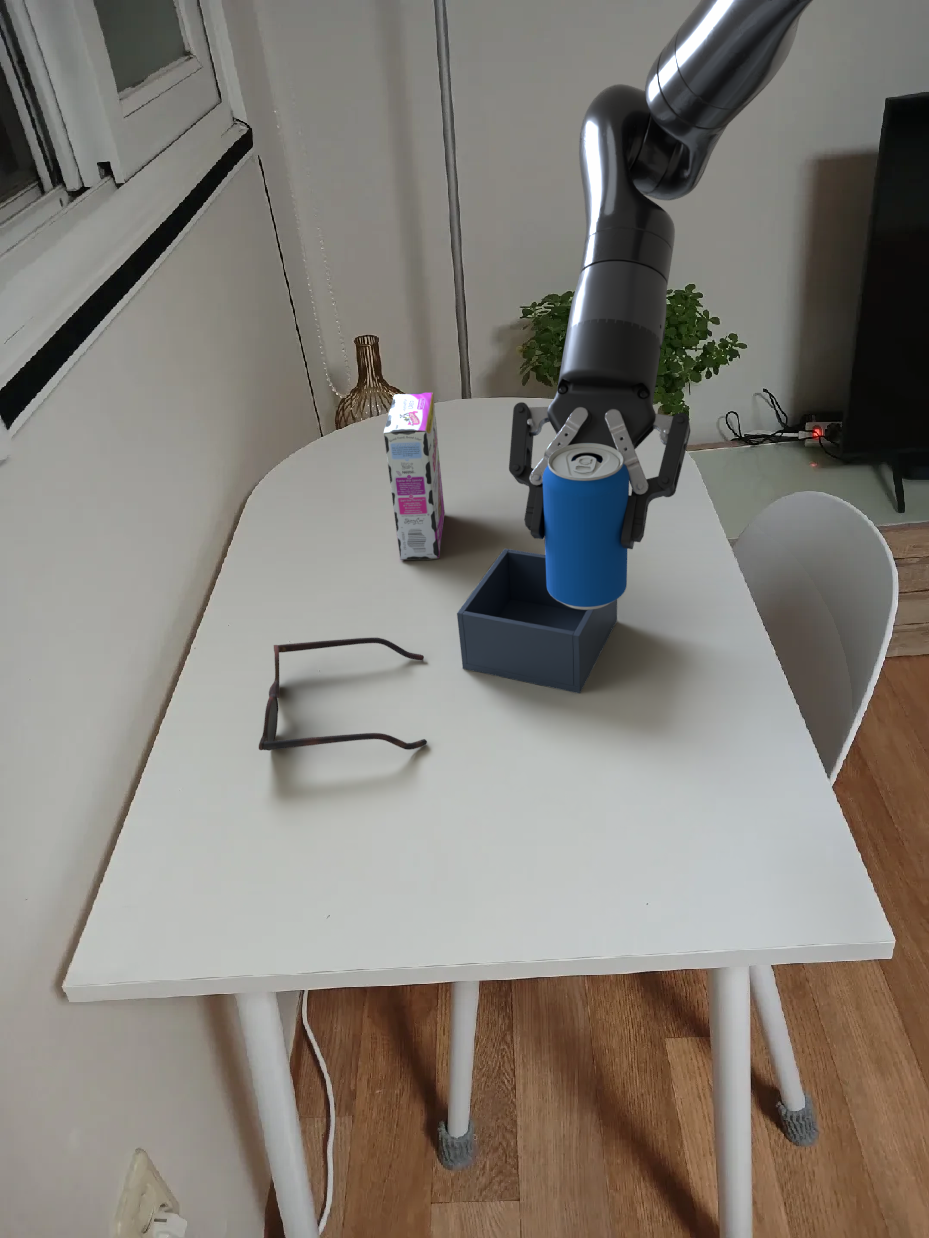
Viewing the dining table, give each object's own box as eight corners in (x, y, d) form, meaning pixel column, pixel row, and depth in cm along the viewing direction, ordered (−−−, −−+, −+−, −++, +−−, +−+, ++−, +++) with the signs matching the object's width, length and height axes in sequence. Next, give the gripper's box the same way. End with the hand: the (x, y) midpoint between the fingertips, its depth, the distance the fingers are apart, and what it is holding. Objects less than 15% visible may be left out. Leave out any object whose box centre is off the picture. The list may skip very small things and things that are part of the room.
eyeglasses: (278, 669, 97) (268, 630, 94) (423, 653, 97) (418, 613, 94) (264, 771, 85) (252, 729, 82) (430, 752, 85) (424, 710, 82)
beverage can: (631, 573, 80) (635, 442, 72) (620, 619, 75) (622, 483, 68) (555, 567, 81) (551, 438, 74) (539, 611, 76) (533, 478, 69)
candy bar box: (442, 560, 111) (427, 430, 102) (399, 562, 112) (380, 433, 102) (447, 513, 120) (434, 389, 111) (408, 515, 121) (391, 392, 111)
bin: (617, 621, 99) (617, 566, 95) (580, 693, 90) (579, 636, 86) (507, 601, 103) (504, 548, 99) (462, 668, 95) (456, 613, 91)
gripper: (515, 312, 74) (479, 520, 72) (705, 318, 69) (672, 540, 68) (536, 352, 81) (503, 543, 79) (709, 360, 77) (679, 562, 75)
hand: (581, 541), depth 73 cm, fingers closed on beverage can, 6 cm apart
